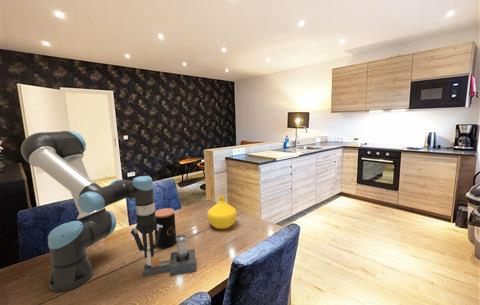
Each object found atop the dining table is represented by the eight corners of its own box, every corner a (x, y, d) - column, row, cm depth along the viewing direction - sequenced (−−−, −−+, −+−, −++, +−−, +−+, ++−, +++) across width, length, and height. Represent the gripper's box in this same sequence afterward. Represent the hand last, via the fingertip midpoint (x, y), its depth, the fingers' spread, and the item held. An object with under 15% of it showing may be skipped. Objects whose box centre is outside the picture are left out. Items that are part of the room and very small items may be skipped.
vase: (221, 216, 154) (220, 189, 151) (242, 223, 143) (242, 194, 140) (201, 227, 139) (200, 197, 136) (224, 235, 128) (223, 203, 126)
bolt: (151, 272, 98) (150, 261, 98) (151, 269, 101) (150, 258, 100) (174, 268, 101) (173, 257, 100) (174, 265, 103) (174, 254, 102)
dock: (141, 280, 93) (140, 272, 93) (145, 264, 104) (144, 256, 103) (196, 271, 99) (195, 262, 98) (195, 256, 109) (194, 248, 109)
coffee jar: (170, 249, 115) (168, 216, 113) (151, 248, 118) (149, 215, 115) (179, 239, 126) (177, 208, 123) (162, 237, 128) (160, 207, 125)
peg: (177, 270, 100) (175, 240, 98) (177, 263, 104) (175, 235, 103) (188, 268, 101) (187, 238, 99) (188, 261, 106) (187, 233, 104)
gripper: (126, 218, 90) (132, 271, 94) (160, 214, 93) (164, 266, 97) (131, 211, 98) (135, 260, 101) (162, 207, 101) (166, 256, 104)
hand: (150, 263), depth 99 cm, fingers closed
